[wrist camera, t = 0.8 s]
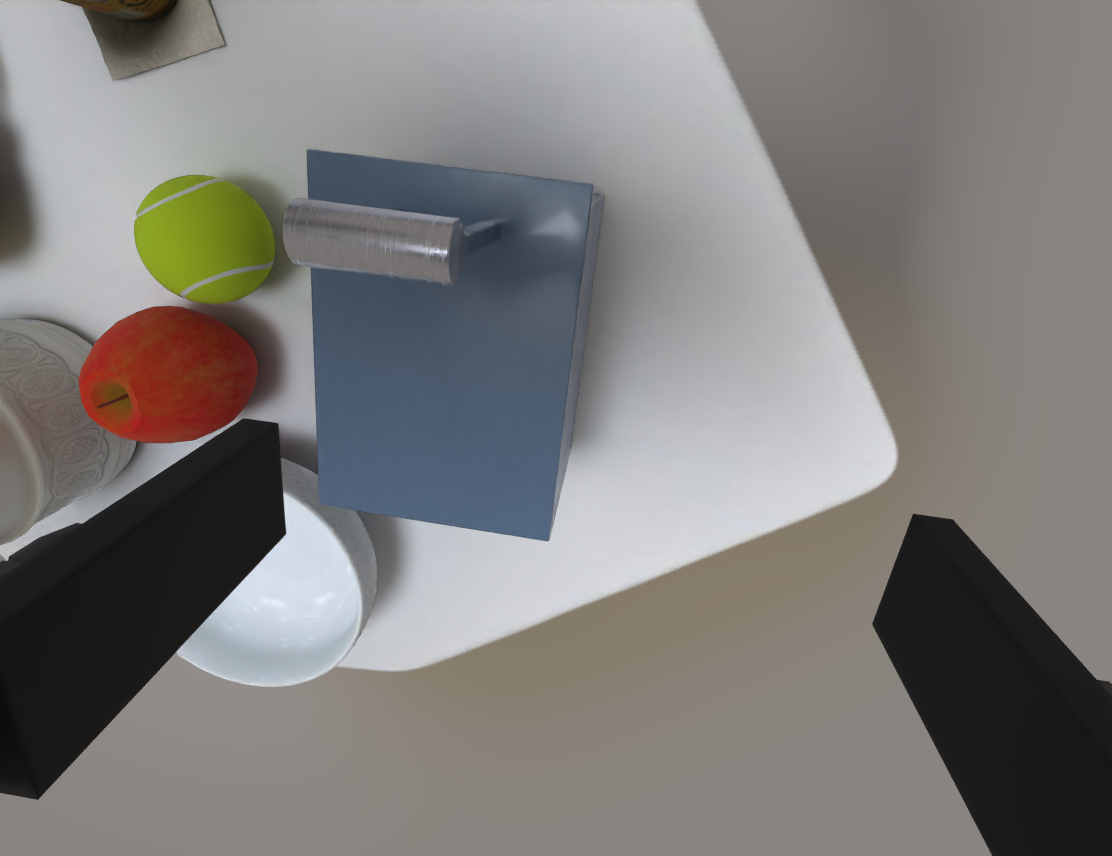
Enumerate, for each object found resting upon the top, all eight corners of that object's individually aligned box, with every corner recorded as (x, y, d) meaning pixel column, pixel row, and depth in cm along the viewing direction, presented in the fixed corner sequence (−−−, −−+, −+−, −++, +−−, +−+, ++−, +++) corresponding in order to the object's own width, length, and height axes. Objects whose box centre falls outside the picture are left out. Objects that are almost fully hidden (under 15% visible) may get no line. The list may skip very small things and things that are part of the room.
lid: (314, 149, 27) (162, 139, 18) (595, 183, 26) (574, 190, 17) (325, 497, 33) (216, 612, 24) (551, 533, 32) (519, 665, 24)
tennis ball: (317, 267, 40) (255, 286, 33) (228, 308, 42) (153, 333, 35) (259, 155, 38) (181, 152, 31) (167, 202, 39) (75, 209, 33)
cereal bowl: (359, 409, 43) (310, 451, 37) (428, 610, 49) (395, 678, 42) (145, 445, 46) (64, 491, 40) (232, 631, 52) (174, 697, 45)
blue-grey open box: (402, 170, 37) (315, 169, 27) (604, 195, 36) (592, 204, 26) (398, 421, 43) (326, 497, 33) (571, 447, 42) (551, 533, 32)
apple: (275, 298, 41) (160, 338, 31) (288, 418, 44) (187, 489, 34) (155, 287, 42) (5, 324, 32) (176, 406, 45) (45, 473, 35)
